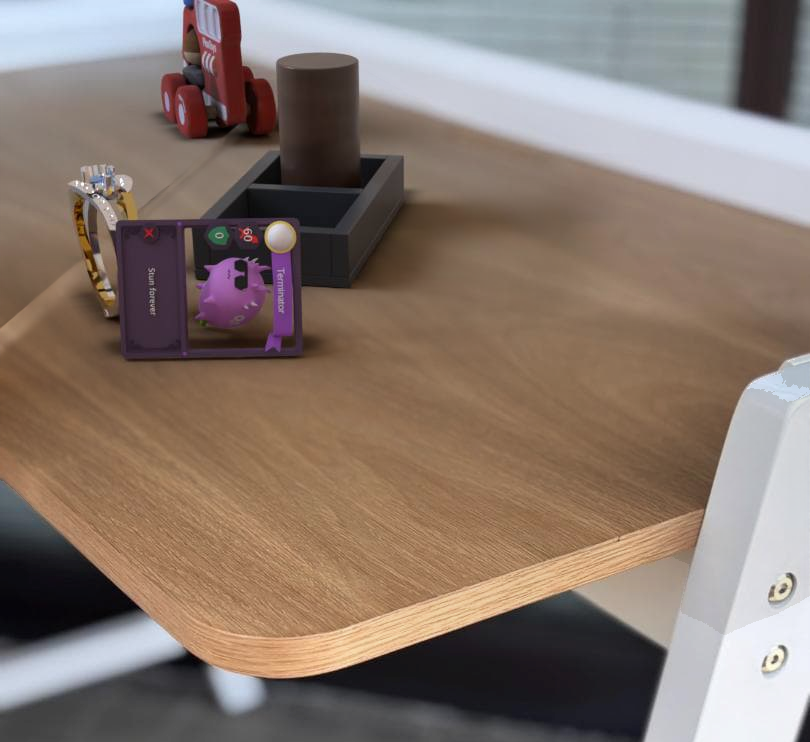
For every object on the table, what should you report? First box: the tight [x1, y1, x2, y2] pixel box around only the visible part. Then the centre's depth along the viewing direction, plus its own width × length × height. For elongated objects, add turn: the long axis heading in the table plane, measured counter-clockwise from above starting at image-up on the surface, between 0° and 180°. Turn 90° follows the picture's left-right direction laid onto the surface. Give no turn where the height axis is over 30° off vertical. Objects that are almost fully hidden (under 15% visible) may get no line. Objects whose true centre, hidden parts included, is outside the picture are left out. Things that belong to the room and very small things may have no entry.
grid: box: [191, 149, 405, 289], centre depth 91 cm, size 9×17×3 cm, turn 170°
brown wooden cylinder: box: [275, 51, 361, 189], centre depth 93 cm, size 5×5×9 cm
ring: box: [66, 163, 139, 319], centre depth 78 cm, size 7×3×8 cm, turn 24°
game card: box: [115, 218, 304, 359], centre depth 76 cm, size 7×5×9 cm
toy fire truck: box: [160, 0, 277, 139], centre depth 113 cm, size 7×12×10 cm, turn 21°
